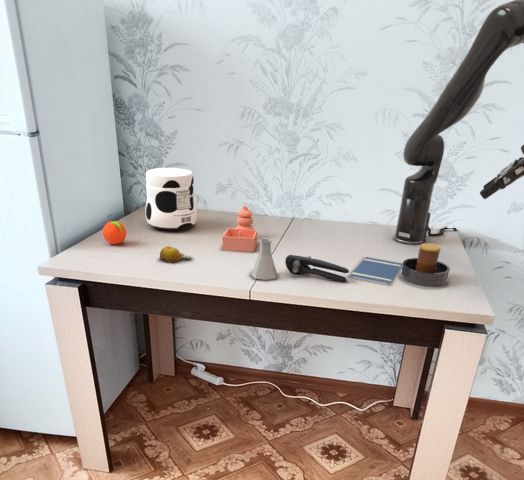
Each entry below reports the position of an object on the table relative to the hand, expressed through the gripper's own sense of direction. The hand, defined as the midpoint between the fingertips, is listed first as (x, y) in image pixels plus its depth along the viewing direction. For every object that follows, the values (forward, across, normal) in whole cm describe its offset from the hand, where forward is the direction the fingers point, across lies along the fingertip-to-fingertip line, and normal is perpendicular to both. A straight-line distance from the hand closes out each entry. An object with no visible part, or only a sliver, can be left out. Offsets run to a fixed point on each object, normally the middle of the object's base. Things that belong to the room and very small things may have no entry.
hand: (483, 192), depth 123 cm
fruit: (+71, +22, -38) cm, 83 cm away
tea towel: (+34, 0, +1) cm, 34 cm away
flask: (+52, +20, -18) cm, 58 cm away
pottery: (+64, -2, -32) cm, 72 cm away
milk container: (+84, -4, -52) cm, 99 cm away
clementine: (+86, +21, -54) cm, 104 cm away
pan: (+25, 0, +10) cm, 27 cm away
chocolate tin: (+24, 0, +10) cm, 26 cm away
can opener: (+43, +14, -9) cm, 46 cm away
